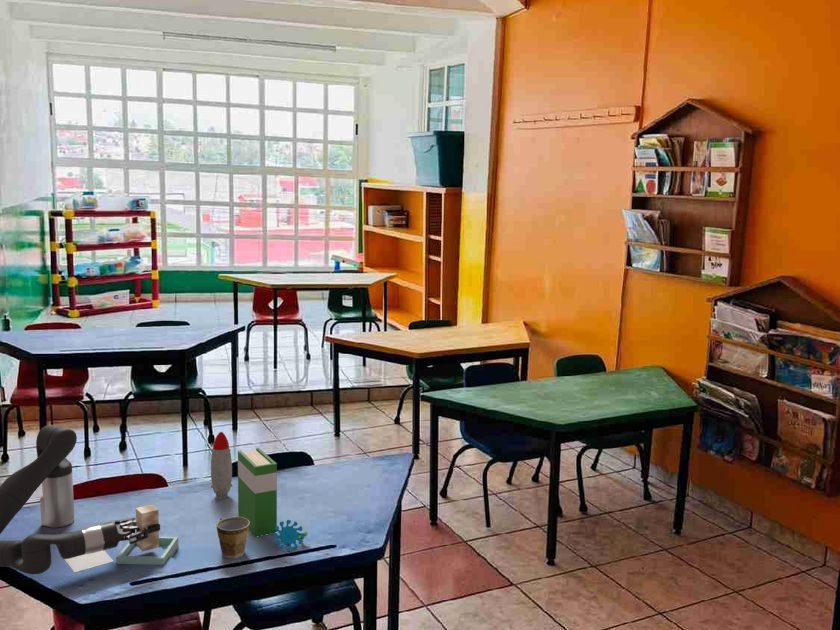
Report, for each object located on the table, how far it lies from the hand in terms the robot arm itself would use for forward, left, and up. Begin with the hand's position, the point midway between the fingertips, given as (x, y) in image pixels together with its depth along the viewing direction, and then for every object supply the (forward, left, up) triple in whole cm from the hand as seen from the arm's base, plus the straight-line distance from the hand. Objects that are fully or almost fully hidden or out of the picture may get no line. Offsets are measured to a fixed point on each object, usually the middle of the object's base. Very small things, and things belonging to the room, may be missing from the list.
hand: (155, 523), depth 226 cm
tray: (-2, -1, -10) cm, 11 cm away
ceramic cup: (+22, +4, -11) cm, 25 cm away
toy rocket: (+8, +47, -11) cm, 48 cm away
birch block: (-2, -2, -7) cm, 7 cm away
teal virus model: (+40, +9, -11) cm, 42 cm away
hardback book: (+26, +24, -11) cm, 37 cm away
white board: (-18, -6, -10) cm, 22 cm away
